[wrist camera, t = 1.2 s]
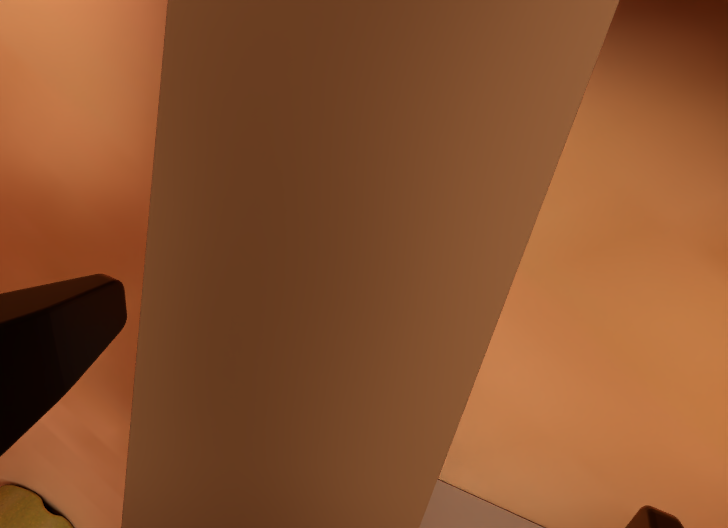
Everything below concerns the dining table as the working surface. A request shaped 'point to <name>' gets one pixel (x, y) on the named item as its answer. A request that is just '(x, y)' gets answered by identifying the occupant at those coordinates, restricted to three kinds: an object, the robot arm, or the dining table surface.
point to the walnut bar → (336, 245)
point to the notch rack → (467, 511)
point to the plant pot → (26, 510)
